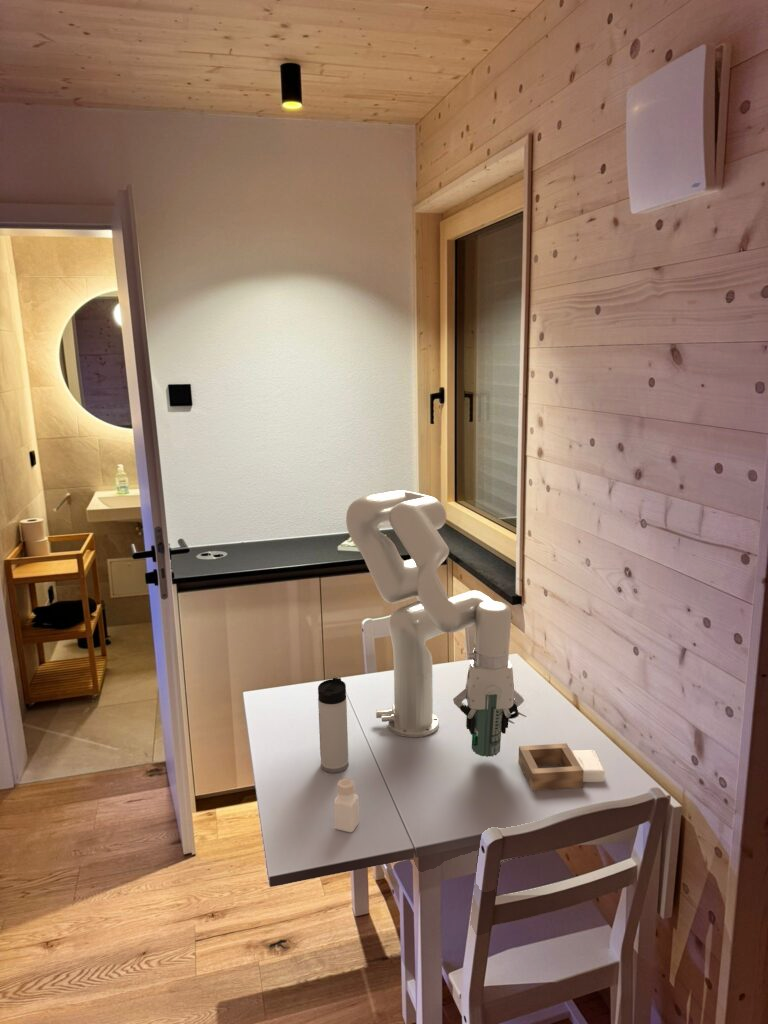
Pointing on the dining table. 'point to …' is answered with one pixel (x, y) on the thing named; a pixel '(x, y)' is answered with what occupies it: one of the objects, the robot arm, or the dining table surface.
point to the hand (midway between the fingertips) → (486, 730)
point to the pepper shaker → (346, 806)
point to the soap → (589, 765)
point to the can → (487, 729)
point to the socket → (550, 777)
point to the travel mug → (333, 725)
